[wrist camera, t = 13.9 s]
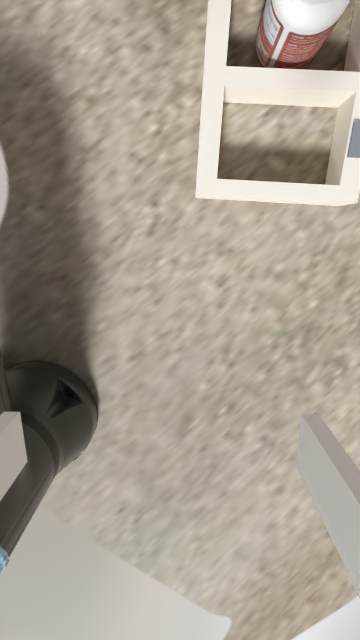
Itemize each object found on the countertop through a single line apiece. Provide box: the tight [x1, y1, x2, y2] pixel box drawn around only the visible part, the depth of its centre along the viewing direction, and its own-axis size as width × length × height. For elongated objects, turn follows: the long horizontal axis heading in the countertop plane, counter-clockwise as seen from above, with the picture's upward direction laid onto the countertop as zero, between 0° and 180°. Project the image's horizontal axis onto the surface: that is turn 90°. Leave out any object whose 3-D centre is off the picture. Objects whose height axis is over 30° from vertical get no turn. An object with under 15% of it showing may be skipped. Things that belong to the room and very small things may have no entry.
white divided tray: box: [196, 0, 360, 206], centre depth 31 cm, size 16×20×4 cm
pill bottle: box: [256, 0, 350, 69], centre depth 26 cm, size 6×6×11 cm
